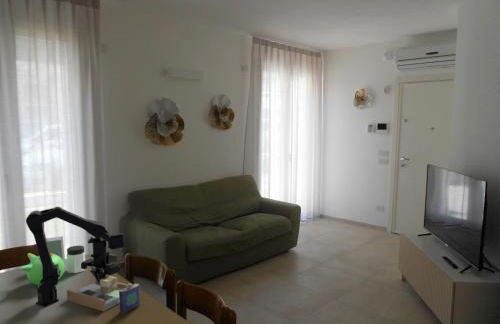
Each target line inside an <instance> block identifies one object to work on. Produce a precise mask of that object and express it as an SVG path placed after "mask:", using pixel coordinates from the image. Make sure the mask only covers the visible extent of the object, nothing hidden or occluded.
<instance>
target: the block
mask: <svg viewBox="0 0 500 324" xmlns="http://www.w3.org/2000/svg"><path fill="white" fill-rule="evenodd" d="M117 282H118V277H116V276H113V275H106V276H105V278H103V279H100V291H104V292H107V293H110V292H112V291H113V290H115V289H117V288H118V287H117Z"/></svg>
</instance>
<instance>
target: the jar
mask: <svg viewBox="0 0 500 324" xmlns="http://www.w3.org/2000/svg"><path fill="white" fill-rule="evenodd" d="M83 261H86V251H85V246H83V245H72V246H70V247H67V248H66V268H67V273H68V274H69V273H70V274H78V273H82V272H85V270H86V269H82V268H81V263H82V262H83Z"/></svg>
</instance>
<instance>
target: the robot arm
mask: <svg viewBox="0 0 500 324" xmlns="http://www.w3.org/2000/svg"><path fill="white" fill-rule="evenodd" d="M53 219H59V220H62V221H63V222H66V223H69V224H71V225H74V226H75V227H79V228H81V229H82V230H84V231H85V232H87V233H88V234H89V235H91V236H90V238H89V239H88V240H87V244H91V245H92V254H90V258H89V259H85V261H83V262H82V263H81V268H82V269H85V270H87V269H88V267H90V268H91V270H90V271H89V273H91V274H92V275H93V277H94V278H95V281H96V280H97V282H98V283H99V285H100V279H103V278H105V277H107V276H113V275H114V274H117V273H119V272H121V265H119V264H117V261H118V256H119V255H117V254H113V253H110V252H109V251H107V249H109V250H110V251H113V250H122V249H125V241H124V233H123V232H122V233H121V232H120V233H116V234H115V233H114V234H110V232H109V231H108V230H107V229H106V225H105V224H104V223H103V222H101V221H96V220H93V219H86V218H84V217H82V216H80V215H78V214H75V213H73V212H71V211H68V210H66V209H64V208H62V207H61V206H55V207H52V208H47V209H43V210H33V211H31V212H30V213H29V214H28V215H27V217H26V218H25V223H26V225H27V228H28V229H29V231H30V232H31V233H32V235H33V238H34V241H35V244H36V249H37V252H38V256H40V259H41V263H42V275H43V278H42V280H41V281H40V282H39V286H38V285H37V286H38V287H37V301H36V302H35V305H38V306H40V307H45V308H46V307H48V306H50V305H52V304H55V303H57V302H59V301H60V299H59V298H58V289H57V288H56V287H57V286H56V285H57V284H58V282H59V280H60V279H59V277H60V273H61V271H60V270H59V265H58V264H56V265H55V264H54V263H53V261H52V258H51V254H50V250H49V247H48V243H47V239H46V238H47V237H46V233H45V223H46V222H49V221H51V220H53Z"/></svg>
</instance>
